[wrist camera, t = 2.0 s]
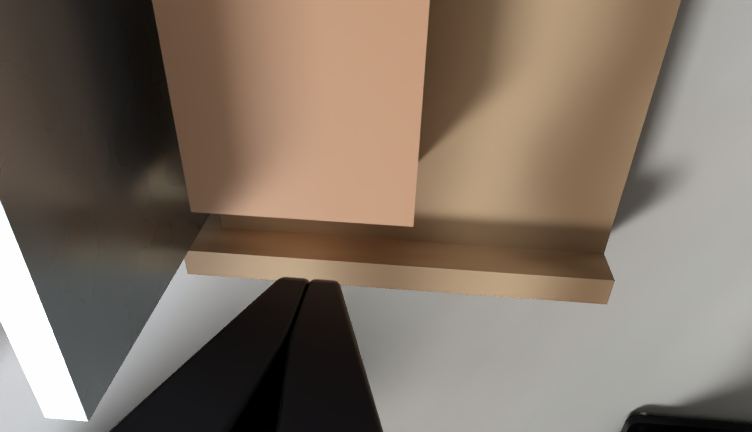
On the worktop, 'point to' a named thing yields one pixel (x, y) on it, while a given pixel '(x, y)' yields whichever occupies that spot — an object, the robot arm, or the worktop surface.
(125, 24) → the tailgate
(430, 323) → the worktop surface
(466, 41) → the square wooden tray
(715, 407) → the worktop surface
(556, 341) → the worktop surface
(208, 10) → the block
